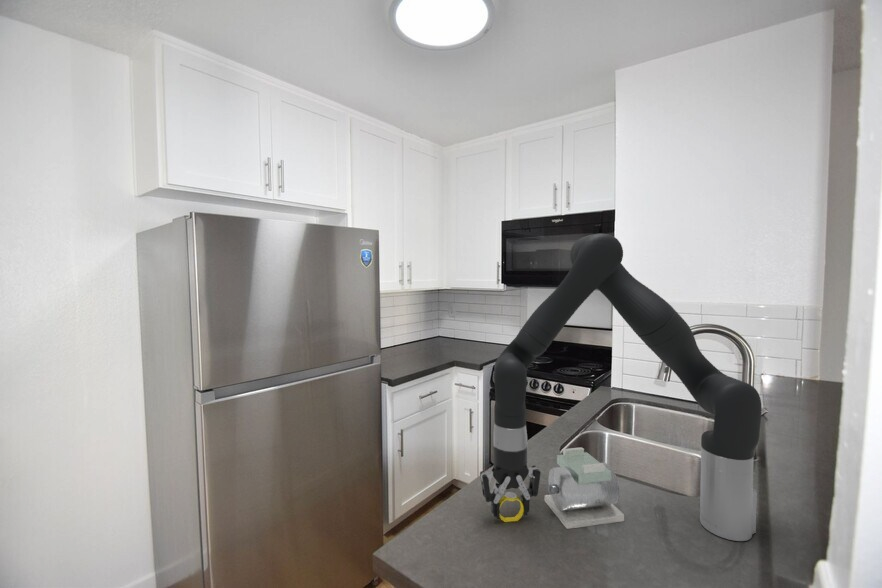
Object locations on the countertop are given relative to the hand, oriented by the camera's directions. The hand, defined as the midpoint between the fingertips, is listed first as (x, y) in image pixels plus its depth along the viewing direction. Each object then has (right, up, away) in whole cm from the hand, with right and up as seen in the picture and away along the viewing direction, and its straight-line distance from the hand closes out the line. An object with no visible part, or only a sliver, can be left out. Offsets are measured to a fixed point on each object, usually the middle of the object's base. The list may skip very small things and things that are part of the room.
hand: (510, 515), depth 89 cm
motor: (+18, -1, +3) cm, 18 cm away
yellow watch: (0, -1, 0) cm, 1 cm away
